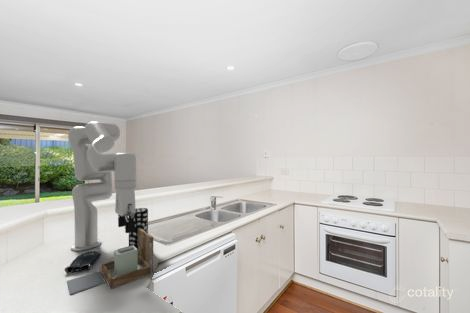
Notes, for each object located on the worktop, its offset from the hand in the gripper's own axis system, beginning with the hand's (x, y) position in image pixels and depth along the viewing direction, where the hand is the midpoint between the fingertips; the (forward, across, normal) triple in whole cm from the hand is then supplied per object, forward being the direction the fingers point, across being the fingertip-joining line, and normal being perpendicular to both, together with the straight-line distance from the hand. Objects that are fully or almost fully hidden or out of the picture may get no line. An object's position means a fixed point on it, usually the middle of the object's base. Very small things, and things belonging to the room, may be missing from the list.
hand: (126, 229), depth 83 cm
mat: (+17, -4, -13) cm, 21 cm away
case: (+17, -1, 0) cm, 17 cm away
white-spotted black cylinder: (+17, -16, +9) cm, 25 cm away
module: (+17, -1, 0) cm, 17 cm away
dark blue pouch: (+17, -21, -11) cm, 29 cm away
